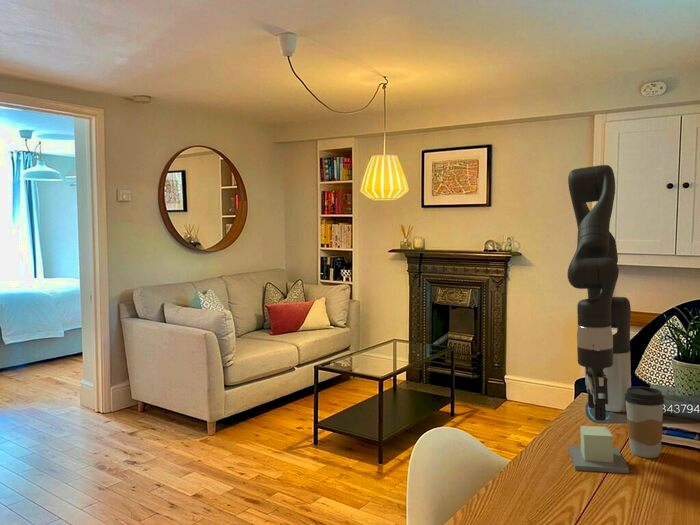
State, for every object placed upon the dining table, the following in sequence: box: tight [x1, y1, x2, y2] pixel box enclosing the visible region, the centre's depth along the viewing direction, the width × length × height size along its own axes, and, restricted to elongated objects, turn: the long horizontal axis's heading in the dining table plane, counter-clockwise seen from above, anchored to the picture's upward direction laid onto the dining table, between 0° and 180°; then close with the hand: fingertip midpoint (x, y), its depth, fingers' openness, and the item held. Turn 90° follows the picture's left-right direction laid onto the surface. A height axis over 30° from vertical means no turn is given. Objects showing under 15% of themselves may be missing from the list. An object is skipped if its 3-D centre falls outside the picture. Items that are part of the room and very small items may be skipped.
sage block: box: [579, 425, 614, 462], centre depth 127 cm, size 6×6×6 cm
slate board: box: [568, 445, 630, 474], centre depth 127 cm, size 12×11×1 cm
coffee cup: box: [625, 386, 665, 459], centre depth 130 cm, size 8×8×15 cm
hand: (596, 413), depth 127 cm, fingers open, 8 cm apart
